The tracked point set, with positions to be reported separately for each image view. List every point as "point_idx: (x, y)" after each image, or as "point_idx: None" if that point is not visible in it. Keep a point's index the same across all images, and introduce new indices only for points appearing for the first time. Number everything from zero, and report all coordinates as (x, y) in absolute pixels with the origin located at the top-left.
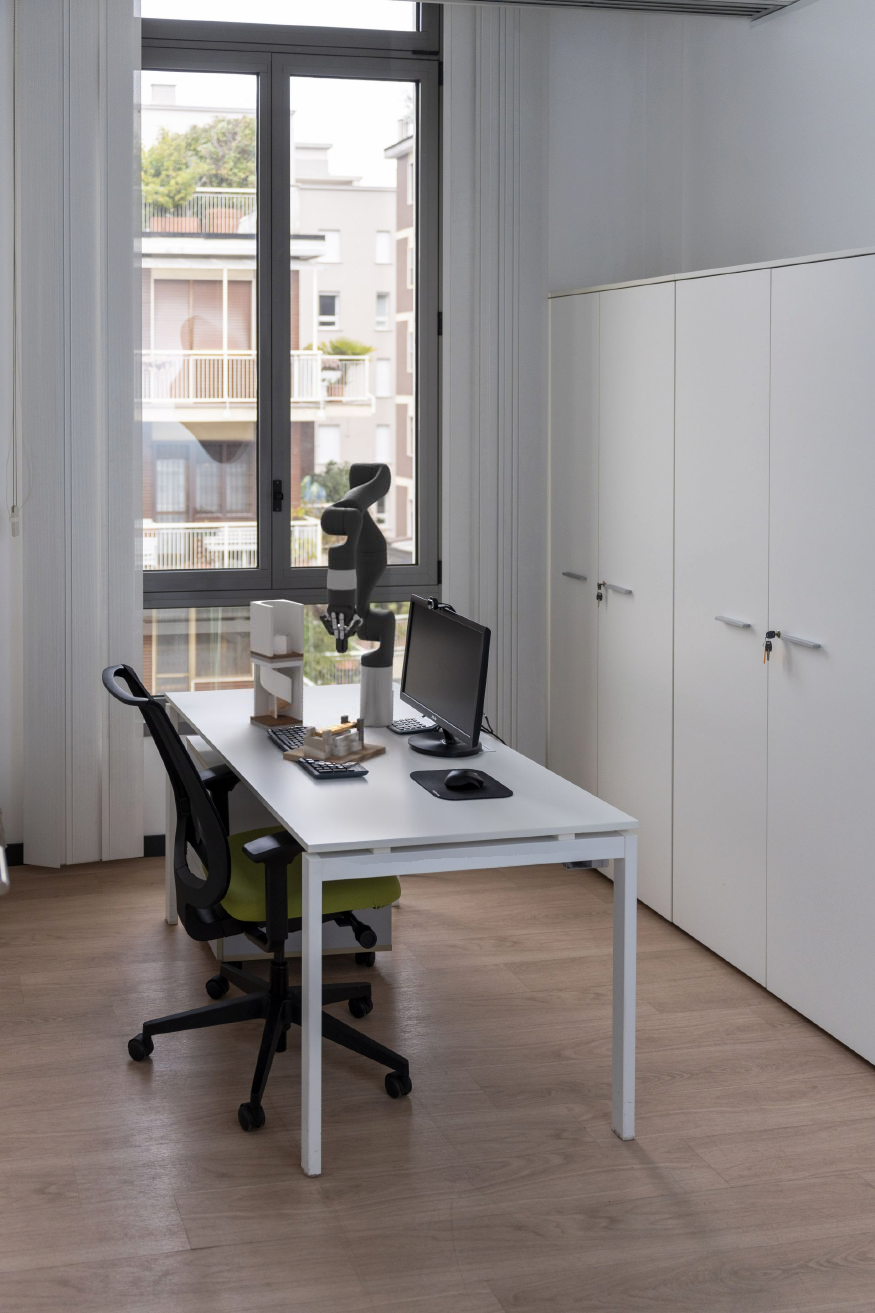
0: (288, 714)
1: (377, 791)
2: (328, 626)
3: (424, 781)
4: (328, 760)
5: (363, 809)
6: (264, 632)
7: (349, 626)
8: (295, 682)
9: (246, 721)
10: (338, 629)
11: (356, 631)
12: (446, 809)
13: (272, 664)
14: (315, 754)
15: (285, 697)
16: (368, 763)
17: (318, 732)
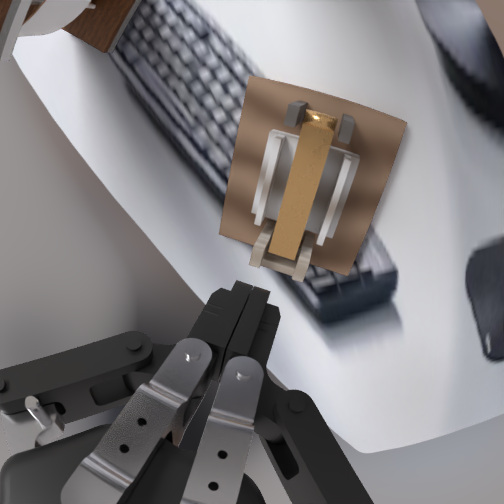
0: None
1: (417, 356)
2: (101, 407)
3: (482, 302)
4: (319, 264)
5: (400, 404)
6: None
7: (246, 450)
8: None
9: None
10: (183, 429)
11: (330, 445)
12: (485, 386)
13: (3, 55)
14: None
15: (80, 7)
16: (389, 219)
17: (277, 254)
